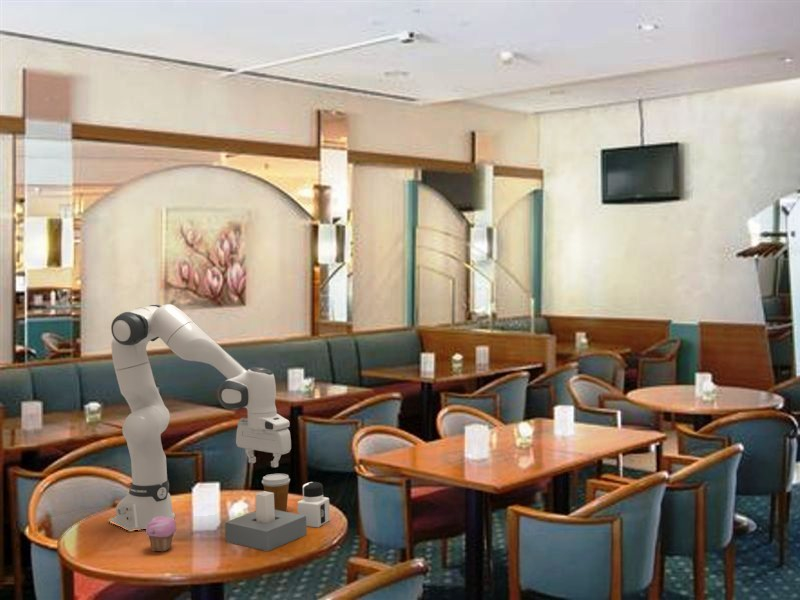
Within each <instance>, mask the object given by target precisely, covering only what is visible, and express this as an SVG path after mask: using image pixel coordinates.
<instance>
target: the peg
mask: <svg viewBox="0 0 800 600" xmlns="http://www.w3.org/2000/svg"><path fill="white" fill-rule="evenodd" d="M254 495H255V511H256V521H257V522H261V523H269V522H271V521H274V520H275V508H274V493H272V492H266V491H264V490H263V491H260V492H258V493H255V494H254Z"/></svg>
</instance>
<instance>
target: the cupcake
mask: <svg viewBox="0 0 800 600" xmlns="http://www.w3.org/2000/svg"><path fill="white" fill-rule="evenodd" d="M176 531H177V523H176V522H175V519H174V520H173V519H171V518H168V517H163V516H161V517H155V518H153V519H152V520H151V522H150V523H149V524H148V526H147V528H146V530H145V532H146V536H148V538H149V542H150V548H151V551H152V552H154V551H161V552H166V551H168V550H169V549H170V548H172V543H173V537H174V533H176Z"/></svg>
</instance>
